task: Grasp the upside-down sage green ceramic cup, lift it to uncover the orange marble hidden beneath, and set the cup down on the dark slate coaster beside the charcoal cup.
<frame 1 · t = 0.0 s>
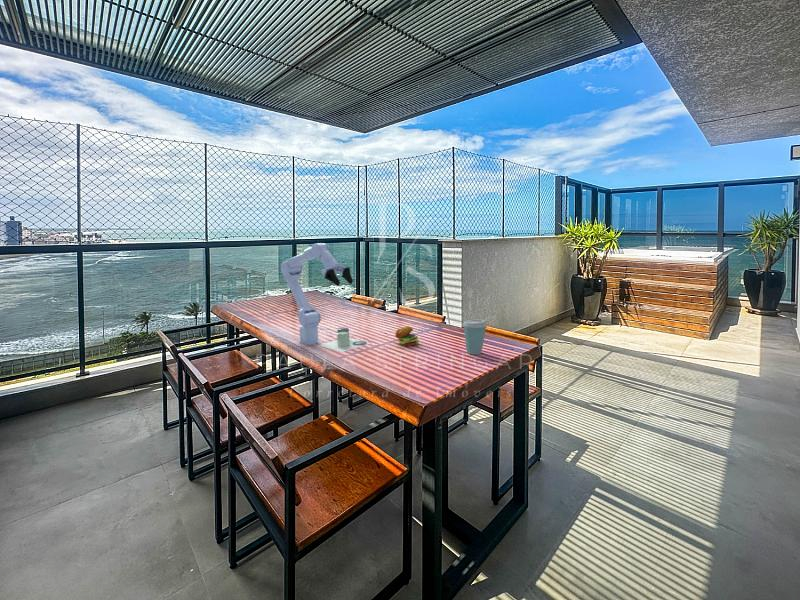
hand: (345, 283, 168), 32 cm above the table, fingers open, 7 cm apart
disposable coffee cup: (474, 352, 172), on the table
mat: (344, 345, 186), on the table
charcoal cup: (343, 340, 193), resting on mat
cheeseburger: (407, 344, 187), on the table
coaster: (359, 343, 187), resting on mat
marble: (343, 342, 184), point 2 cm above the table, touching mat
sage cup: (343, 345, 184), resting on mat
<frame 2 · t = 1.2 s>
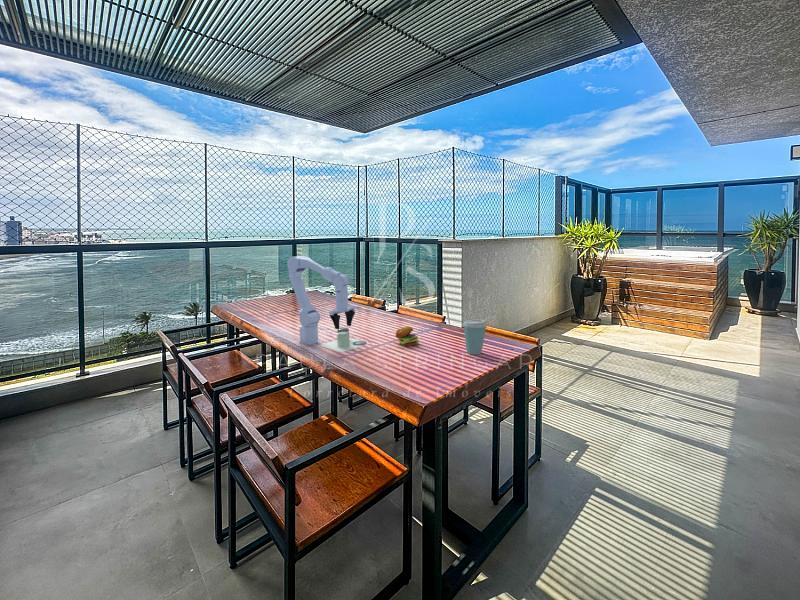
hand: (343, 327, 183), 10 cm above the table, fingers open, 7 cm apart
nothing on the table moved.
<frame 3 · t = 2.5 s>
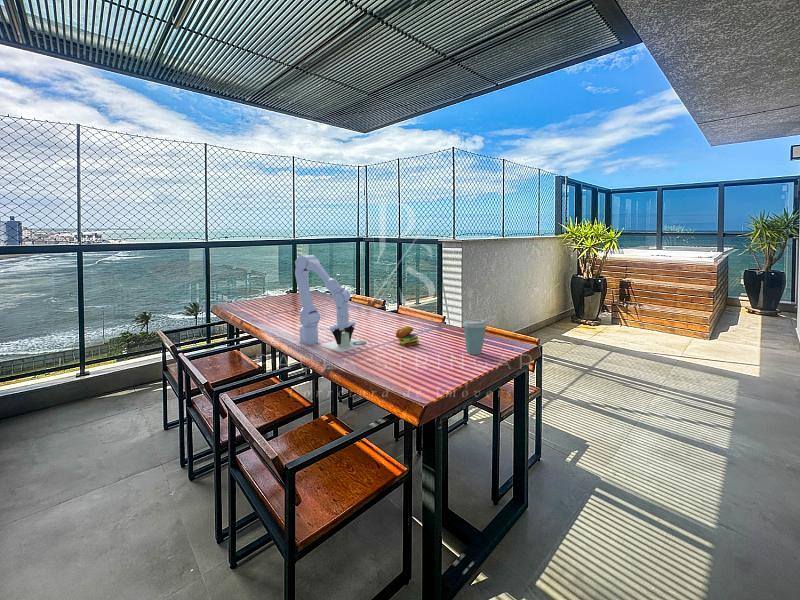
hand: (343, 342, 184), 2 cm above the table, fingers closed on sage cup, 6 cm apart
sage cup: (343, 345, 184), resting on mat, touching gripper
everything else where it was.
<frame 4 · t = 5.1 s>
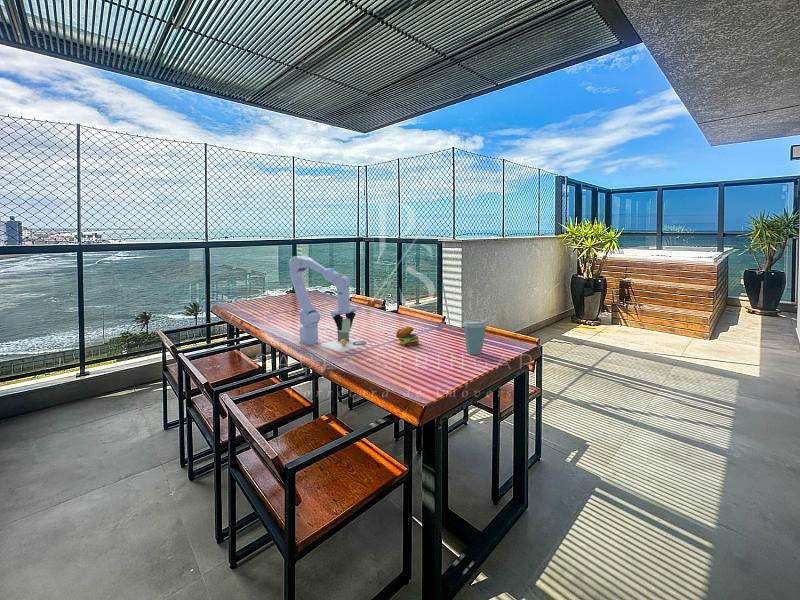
hand: (344, 328, 183), 9 cm above the table, fingers closed on sage cup, 6 cm apart
sage cup: (344, 331, 183), point 8 cm above the table, touching gripper
everything else where it was.
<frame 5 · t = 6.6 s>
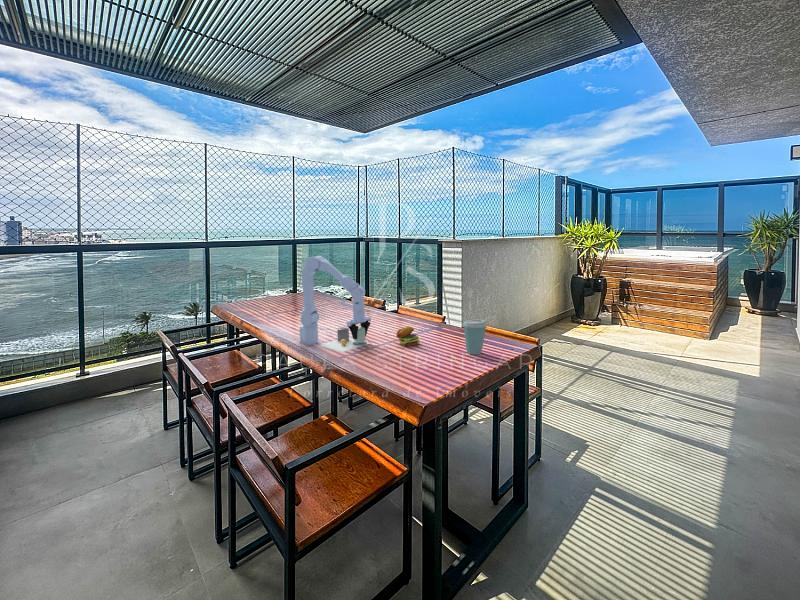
hand: (359, 337, 186), 3 cm above the table, fingers closed on sage cup, 6 cm apart
sage cup: (359, 340, 187), point 2 cm above the table, touching gripper
everything else where it was.
when the fingers open (3 cm above the table, at t = 7.7 s): sage cup drops 1 cm, resting on coaster.
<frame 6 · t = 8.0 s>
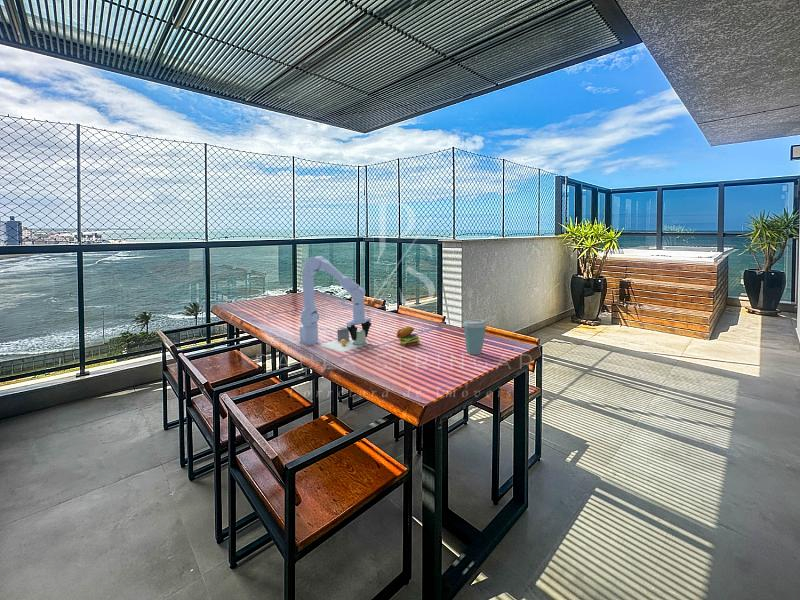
hand: (359, 338, 187), 3 cm above the table, fingers open, 7 cm apart
sage cup: (359, 342, 187), point 1 cm above the table, touching coaster
everything else where it was.
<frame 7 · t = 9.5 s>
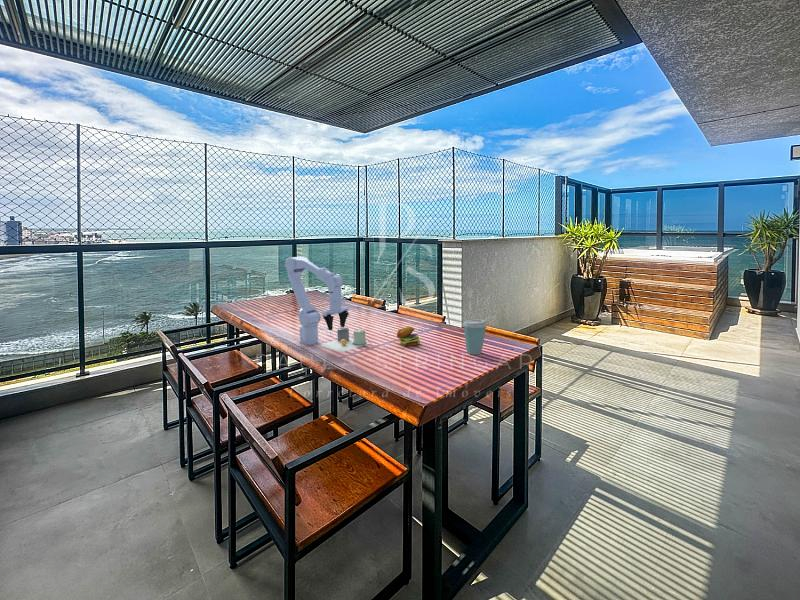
hand: (336, 328, 182), 9 cm above the table, fingers open, 7 cm apart
nothing on the table moved.
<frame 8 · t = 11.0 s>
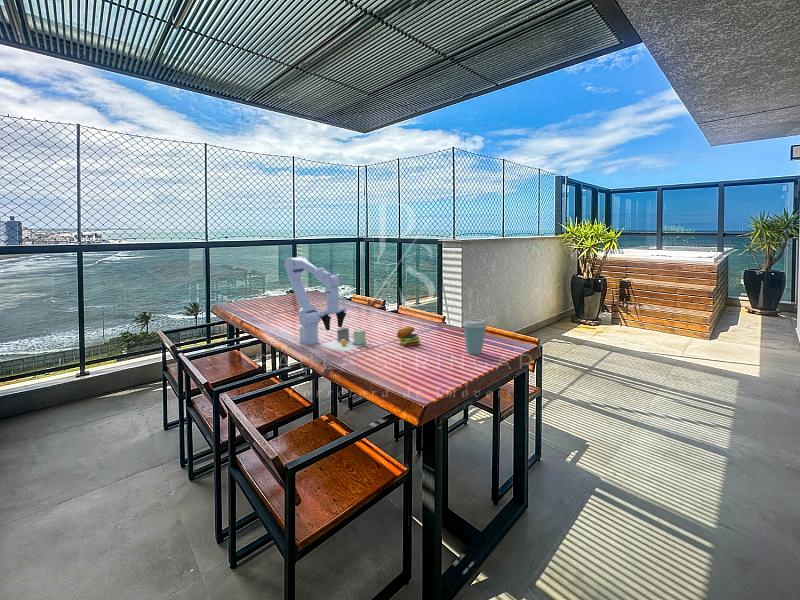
hand: (334, 328, 181), 9 cm above the table, fingers open, 7 cm apart
nothing on the table moved.
at the end: sage cup 0.0 cm off-centre on the coaster, point 0.3 cm above the coaster's base; sage cup tilted 0°; the gripper is holding nothing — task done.
